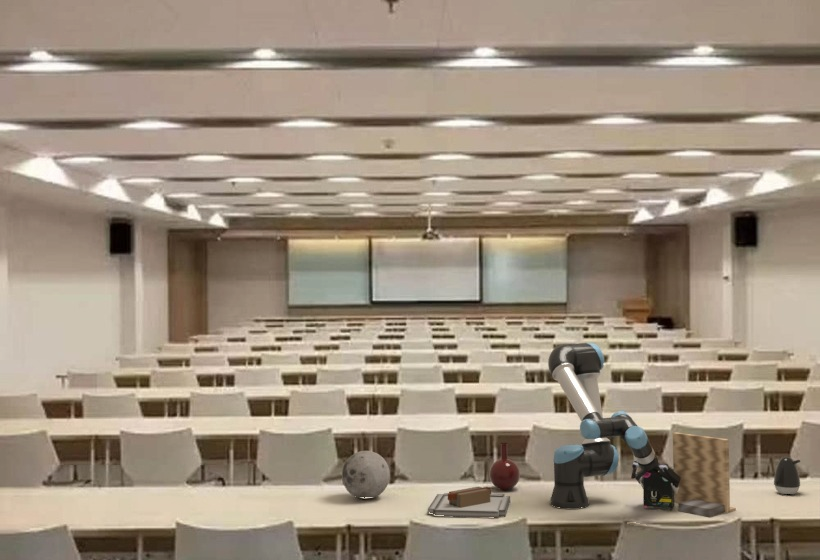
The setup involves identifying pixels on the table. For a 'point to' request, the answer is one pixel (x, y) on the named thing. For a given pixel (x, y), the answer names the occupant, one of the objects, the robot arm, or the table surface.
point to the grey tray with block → (470, 503)
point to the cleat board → (702, 474)
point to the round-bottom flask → (504, 471)
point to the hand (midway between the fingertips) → (661, 489)
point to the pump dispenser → (787, 476)
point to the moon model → (365, 474)
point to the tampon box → (657, 492)
